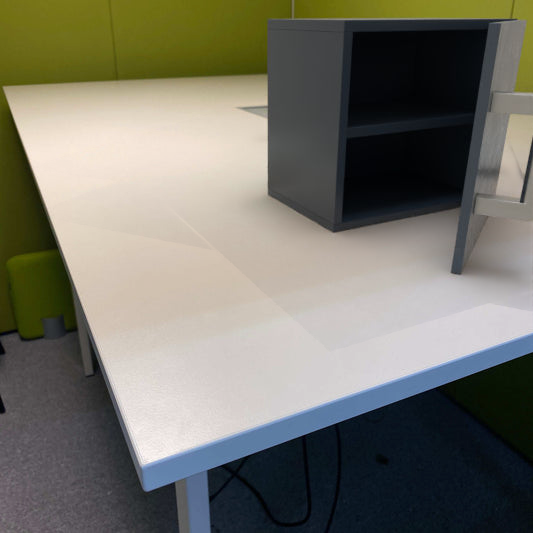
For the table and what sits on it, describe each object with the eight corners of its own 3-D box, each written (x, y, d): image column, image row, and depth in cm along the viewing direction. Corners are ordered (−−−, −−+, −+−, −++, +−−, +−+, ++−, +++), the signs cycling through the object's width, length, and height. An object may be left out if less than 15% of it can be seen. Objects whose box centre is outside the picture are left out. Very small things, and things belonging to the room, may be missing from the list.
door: (538, 210, 76) (580, 20, 66) (521, 286, 55) (578, 23, 45) (486, 203, 79) (518, 19, 69) (450, 272, 58) (489, 22, 48)
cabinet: (485, 203, 79) (517, 18, 69) (333, 233, 69) (344, 20, 58) (404, 173, 94) (420, 17, 84) (267, 195, 83) (267, 18, 73)
